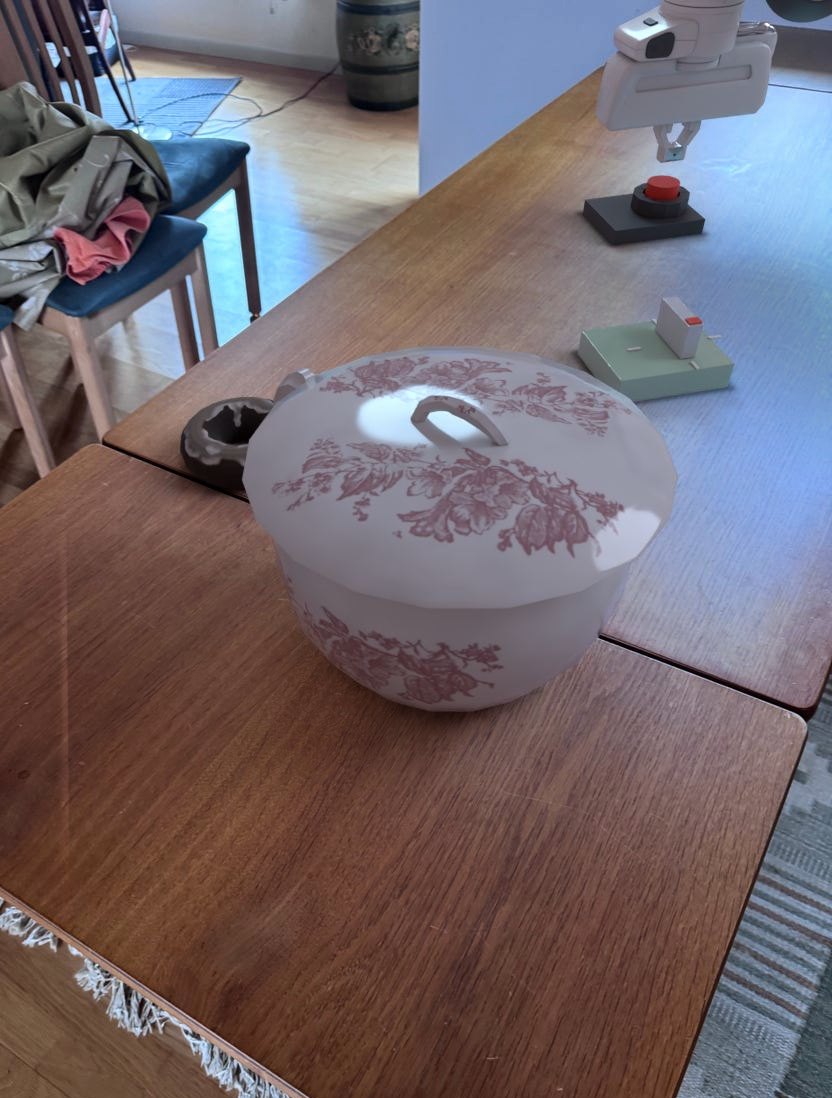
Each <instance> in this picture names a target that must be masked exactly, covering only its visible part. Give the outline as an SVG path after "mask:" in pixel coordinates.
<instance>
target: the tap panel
mask: <svg viewBox="0 0 832 1098" xmlns="http://www.w3.org/2000/svg"><path fill="white" fill-rule="evenodd" d="M656 323H657V319H656V318H655V317H653V318H651V319H650V320H648V321H641V322H635V323H629V324H620V325H614V326H606V327H600V328H593V329H587V330H581V332H580V339H579V344H578V350H577V356H579V358H580V359H581V361H582V362H583V363H584V365H585V366H586V367H587V368H588V370H589V371H590V372H591V374H592V376H593V377H595V378H596V379H598V380H600V381H601V382H603V383H605V384H606V385H608V386H610V387H611V388H613V389H615V390H616V391H618V392H620V393H621V394H623V395H625V396H626V397H628V398H630V399H631V401H632V402H633V403H635V402H642V401H649V400H653V399H659V398H667V397H674V396H681V395H686V394H693V393H698V392H699V393H700V392H705V391H712V390H719V389H724V388H728V386H729V383H730V379H731V376H732V374H733V371H734V367H735V362H734V361H733V360H732V359H731V358H730V357H729V356H728V355H727V354H726V353H725V352H724V351H723V349H722V348H720V347H719V346H718V345H717V344H716V343H715V342H714V340H716V339H722V337H723V336H722V334H716V335H708V334H707V333H705V331H704V330H702V334H701V337H700V341H699V345H698V348H697V352H696V356H695V357H692V358H685V359H680V358H679V357H678V356H677V354H676V353H675V352H674V351H673V350H672V349H671V348H670V346H669V345H668V344H667V343H666V342H665V341H664V340H663V339H662V337H661V336H660V335H659V334H658V333H657V332H656V331H655V328H656Z"/></svg>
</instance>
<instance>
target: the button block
mask: <svg viewBox="0 0 832 1098" xmlns="http://www.w3.org/2000/svg"><path fill="white" fill-rule="evenodd" d="M646 186H647V182H644V183H641V184H639V185H636V186H635V187H634V188H633V192H632V193H626V194H619V195H618V194H617V195H610V196H602V197H594V198H586V199H584V203H583V210H582V215H583V216H584V217H585V218H586V219H587V221H589V222H590V224H591V225H592V226H594V228H596V229H597V231H598V232H599V233H600V234H601V235H602V236H603V237H604V238H605V239H606V240H607V241H608V242H609V243H610V244H611V245H612V246H613V247H614V246H623V245H629V244H637V243H644V242H652V241H658V240H666V239H675V238H681V237H689V236H697V235H702V234H703V230H704V227H705V223H706V218H705V217H704V216H703V215H701V214H700V213H699V212H698V211H697V210H695V209H694V208H693V207H692V206H691V205H689V201H690V195H691V193H690V191H689V190H688V189H687V188H685V187H684V186H682V185H680V186H679V191H678V195H677V198H675V199H671V200H656V199H652V198H649V197H647V196H645V191H646Z"/></svg>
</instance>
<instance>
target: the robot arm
mask: <svg viewBox="0 0 832 1098" xmlns="http://www.w3.org/2000/svg"><path fill="white" fill-rule="evenodd" d="M745 2H746V0H660V5H657V6H656V7H654V8H652V9H651V10H648V11H646V12H645V13H642V14H641V15H639V16H637V17H634V18H633V19H631V20H628V21H626V22H624V23H622V24H620V25H619V26H617V27H616V28H615V30H614V32H613V39H612V43H613V47H614V48H616V49H617V51H615V52H614V53H613V54H612V55H611V56H610V58H608V61H606V62H607V63H606V65H605V67H604V69H603V74H602V78H601V82H600V87H599V91H598V94H597V95H598V96H597V100H596V107H595V108H596V109H595V115H596V119H597V120H598V122H599V124H600V125H601V126H602V127H603V128H605V129H606V130H608V131H609V132H619V131H626V130H634V129H635V130H636V129H643V128H650V127H652V131H653V134H654V137H655V140H656V143H657V151H656V158H655V159H656V160H657V162H659V163H660V164H663V163H670V162H679V161H684V160H685V158H686V153H687V149H688V146H690V144H691V142H692V141H693V140H694V138H695V137H696V135H698V133H699V131H700V129H701V126H702V121H707V120H717V119H724V118H731V117H739V116H740V117H741V116H747V115H748V116H749V115H755V114H757V113H758V111H759V110H760V109H761V108H762V107H763V106H764V104H765V102H766V98H767V94H768V89H769V84H770V83H769V82H770V78H771V77H770V76H771V68H772V60H773V59H772V58H773V55H774V52H775V51H776V50H775V48H776V45H777V43H778V42H777V41H778V32H777V30H776V28H775V27H774V26H773V25H771V24H770V22H769V21H764V20H763V21H758V22H754V23H753V22H752V23H749V22H748V23H747V22H745V23H741V18H742V16H743V15H742V14H743V9H744V6H745ZM765 2H766V5H767V6H768V7H769V8H770V10H771V11H772V12H773V13H774V14H776V16H778V17H779V18H781V19H783V20H785V21H788V22H791V23H799V24H803V23H812V22H815V21H816V22H818V21H820V20H823V19H826V18H827V17H830V16H832V0H765ZM675 124H680V125H681V126H682V127H683V129H682V130H681V131H680V133H679V135H678V136H677V138H676V140H675V141H669V138H668V135H667V134H671V133H672V131H673V125H675Z"/></svg>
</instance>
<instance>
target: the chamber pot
mask: <svg viewBox="0 0 832 1098" xmlns="http://www.w3.org/2000/svg"><path fill="white" fill-rule="evenodd" d="M272 400H273V402H274V407H273V408H272V410H271V411H270V412H269V414H268V415H267V416H266V418H265V419H264V421H263V422H262V423H261V425H260V426H259V427H258V429H257V430H256V431H255V433H254V434H253V436H252V437H251V438H250V439H248V443H249V445H248V450H247V456H246V461H245V467H244V472H243V478H242V481H243V484H244V487H245V489H244V490H245V493H246V496H247V499H248V501H249V505H250V506H251V510H252V512H253V513H252V514H253V515H254V518H255V522H256V523H257V524H258V525H259V526H260V527H261V528H262V529H263V530H264V531H265V532H266V533H267V534H268V535H269V536H270V537H271V538H272V540H273V547H274V554H275V561H276V564H277V568H278V571H279V573H280V576H281V578H282V582H283V585H284V588H285V590H286V593H287V595H288V598H289V599H288V600H289V601H290V603H291V607H292V608H293V611H294V613H295V615H296V618H297V620H298V623H299V625H300V628H301V630H302V632H303V634H304V635H305V636H306V638H307V639H309V641H310V642H311V643H312V644H313V645H314V646H315V647H316V648H317V650H318V651H319V652H320V653H321V654H322V655H323V656H324V657H325V658H326V659H327V661H329V663H330V664H331V665H332V666H333V667H335V668H336V669H338V670H339V671H341V672H342V673H343V674H345V675H347V677H349V678H351V679H352V680H354V681H355V682H356V683H358V684H360V685H361V686H363V687H365V688H366V689H368V690H370V691H371V692H373V693H375V694H377V695H379V696H380V697H382V698H384V699H385V700H388V701H389V702H393V703H396V704H400V705H404V706H408V707H411V708H414V709H415V708H416V709H419V710H424V711H427V712H465V713H467V712H468V713H469V712H475V711H479V710H485V709H488V708H491V707H496V706H500V705H504V704H508V703H511V702H513V701H516V700H517V699H519V698H521V697H523V696H525V695H527V694H529V693H531V692H533V691H535V690H537V689H538V688H540V687H541V686H543V685H545V684H547V683H548V682H550V681H552V680H553V679H555V678H557V677H558V676H560V675H562V674H563V673H565V672H566V671H568V670H570V669H572V668H573V667H574V666H577V665H578V663H579V661H580V660H581V659H582V658H583V657H584V655H585V654H586V653H587V652H588V650H589V649H590V648H591V647H592V645H593V644H594V643H595V642H596V640H597V639H598V638H599V637H600V635H601V634H602V633H603V631H604V629H605V628H606V626H607V624H608V623H609V620H610V619H611V618H612V616H613V614H614V612H615V610H616V609H617V607H618V606H619V604H620V602H621V601H622V600H623V596H624V592H625V588H626V585H627V581H628V578H629V574H630V571H631V565H632V563H634V562H636V561H638V560H639V558H640V557H641V556H642V555H643V554H644V552H646V550H647V549H648V548H649V546H650V545H651V544H652V543H653V541H654V540H655V539H656V538H657V537H658V535H659V534H660V533H661V531H662V530H663V529H664V528H665V527H666V525H667V524H668V523H669V522H670V521H671V518H672V517H671V516H672V512H673V511H672V510H673V506H674V502H675V501H674V500H675V495H676V492H677V491H676V490H677V486H678V485H677V484H678V480H679V476H678V473H677V470H676V467H675V465H674V461H673V459H672V456H671V455H672V454H671V453H670V450H669V447H668V444H667V441H666V438H665V435H663V434H662V432H661V431H660V429H658V427H656V426H655V424H654V423H653V422H652V421H651V420H650V419H649V418H648V417H647V416H646V415H645V413H644V412H642V410H641V409H640V408H639V407H638V405H637V404H635V402H632V401H631V399H630V398H628V397H626V396H625V395H623V394H621V393H620V392H618V391H616V390H615V389H613V388H611V387H610V386H608V385H606V384H605V383H603V382H601V381H600V380H598V379H596V378H595V376H594V375H591V374H590V373H588V372H586V371H584V370H581V369H578V368H575V367H572V366H569V365H566V364H564V363H561V362H557V361H555V360H551V359H549V358H546V357H543V356H540V355H537V354H534V353H528V352H521V351H515V350H509V349H501V348H494V347H488V346H482V345H421V346H420V345H418V346H413V347H407V348H403V349H397V350H391V351H386V352H380V353H375V354H370V355H364V356H362V357H359V358H357V359H354V360H351V361H348V362H346V363H344V364H341V365H338V366H336V367H333V368H331V369H328V370H326V371H323V372H319V373H314V372H313V371H312V370H311V369H309V368H308V367H303V368H299V369H296V370H294V371H291V372H289V373H288V374H287V375H286V376H285V377H284V378H283V379H282V380H281V382H280V383H279V385H278V386H277V388H276V391H275V394H274V397H273V399H272Z"/></svg>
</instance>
